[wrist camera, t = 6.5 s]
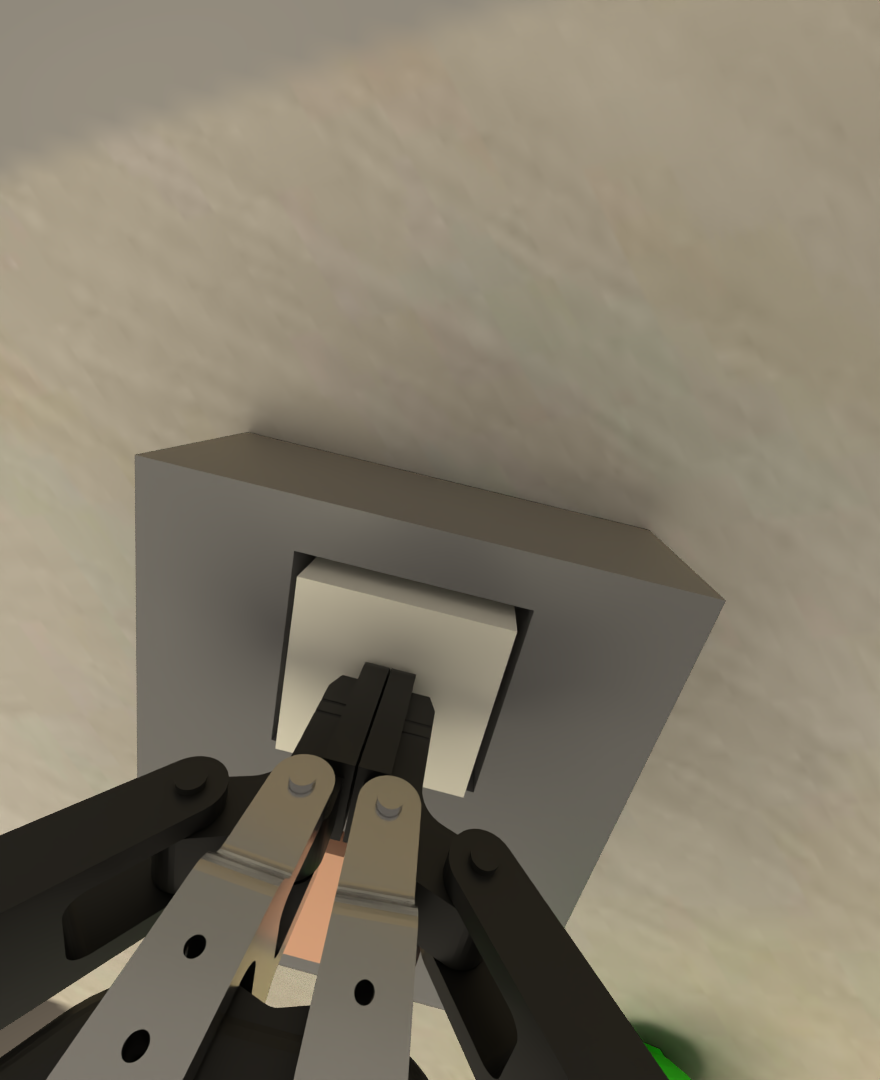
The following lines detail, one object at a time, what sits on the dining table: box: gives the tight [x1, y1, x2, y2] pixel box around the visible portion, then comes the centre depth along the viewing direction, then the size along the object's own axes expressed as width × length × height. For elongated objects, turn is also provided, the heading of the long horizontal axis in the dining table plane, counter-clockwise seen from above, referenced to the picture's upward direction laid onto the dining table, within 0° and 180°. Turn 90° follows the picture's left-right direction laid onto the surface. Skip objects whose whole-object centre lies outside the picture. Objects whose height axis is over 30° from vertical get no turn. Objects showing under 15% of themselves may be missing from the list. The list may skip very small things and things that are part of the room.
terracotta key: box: [283, 831, 347, 963], centre depth 18 cm, size 6×6×3 cm
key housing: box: [135, 432, 726, 1010], centre depth 18 cm, size 16×20×6 cm
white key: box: [275, 557, 517, 797], centre depth 14 cm, size 6×6×3 cm
